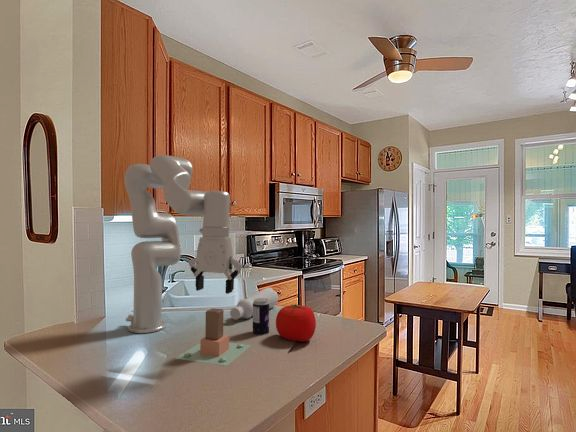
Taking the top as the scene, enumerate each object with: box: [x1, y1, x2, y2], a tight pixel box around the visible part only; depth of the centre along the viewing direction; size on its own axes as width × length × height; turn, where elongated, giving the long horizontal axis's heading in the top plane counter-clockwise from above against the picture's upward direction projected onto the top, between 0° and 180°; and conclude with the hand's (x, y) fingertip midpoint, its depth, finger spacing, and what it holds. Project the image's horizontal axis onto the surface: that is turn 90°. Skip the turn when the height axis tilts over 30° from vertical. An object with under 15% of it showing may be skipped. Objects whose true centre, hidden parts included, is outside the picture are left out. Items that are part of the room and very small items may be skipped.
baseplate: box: [174, 342, 252, 367], centre depth 99 cm, size 16×16×2 cm
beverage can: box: [252, 298, 270, 336], centre depth 118 cm, size 6×6×12 cm
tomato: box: [275, 303, 317, 343], centre depth 113 cm, size 13×14×12 cm
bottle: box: [229, 287, 279, 321], centre depth 145 cm, size 9×9×30 cm
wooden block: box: [204, 308, 224, 340], centre depth 100 cm, size 4×4×8 cm
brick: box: [199, 334, 230, 356], centre depth 99 cm, size 6×6×4 cm
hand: (214, 291), depth 100 cm, fingers open, 9 cm apart
